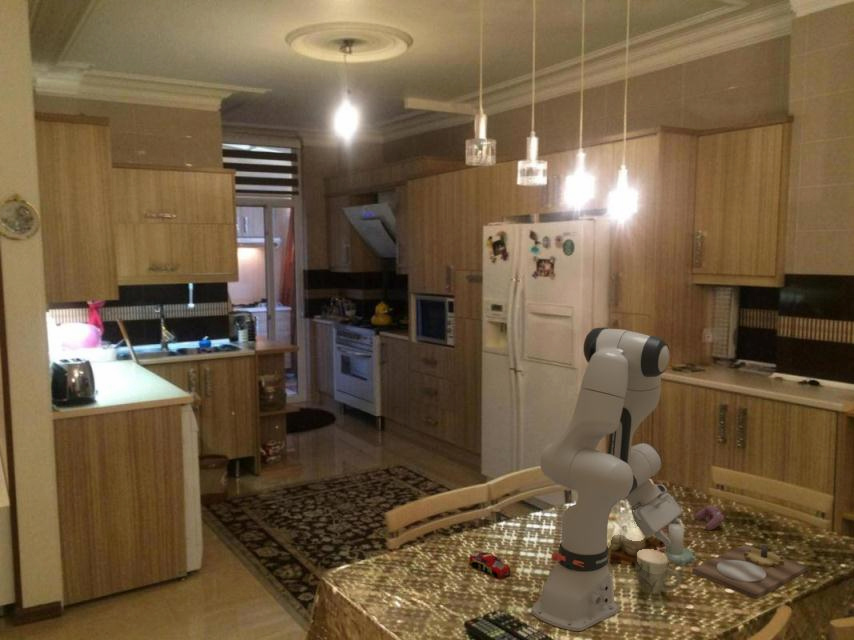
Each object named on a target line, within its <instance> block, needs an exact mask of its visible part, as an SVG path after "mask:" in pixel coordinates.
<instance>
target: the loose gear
mask: <svg viewBox="0 0 854 640" xmlns="http://www.w3.org/2000/svg"><path fill="white" fill-rule="evenodd" d="M684 530H685V529H684V526H683V525H679V524H672V523H669V525H668V537H670V539H671V540H672V541H673V543H672V544H671V545H669V546H668V547H667V546H666V545H665V546H666V549H663V550H662V551H664V552H665V553H666V555H667V557H668V560H669V562H671V563H670V564H674V565H681V566H682V567H683V566H684V567H685V566H686V564H689V563H693V564H695V563H696V551H695V550H690V549H688V548H686V547H685V545H684V536H685V533H684Z"/></svg>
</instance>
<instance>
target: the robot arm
mask: <svg viewBox="0 0 854 640" xmlns="http://www.w3.org/2000/svg"><path fill="white" fill-rule="evenodd" d="M583 355H584V358H585V360H586V362H587V363H588V364H587V367H586V368H585V371H584V374H583V377H582V380H581V384H580V388H579V392H578V397H577V400H576V404H575V408H574V411H573V414H572V418H571V420H570V422H569V423H568V425H567V427H566V428H565V430H564V431H563V432H562V434H561V435H560V436H559V437H558V438H557V439H555V440H554V441H552V442H550V443H548V444H547V445H546V446H545V447H544V449H543V451H542V452H541V456H540V459H539V461H540V462H539V463H540V464H539V465H540V470H541V472H542V474H543V475H544V476H545V477H547V478H548V479H549V480H551V481H552V482H554V483H555V484H557V485H559V486H561V487H564V488H567V489H571V490H573V491H575V492H576V493H577V500H576V504H573V505H570V506H569V507H567V508H566V509H565V510H564V511H563V513H562V515H561V541H560V543H559V547H558V550H557V551H553V553H552V555H551V559H552V561H554V562H555V561H556V563H555V565H554V566H553V568H552V569H551V572H550V573H549V575H548V577H547V579H546V581H545V582H544V585H543V587H542V589H541V595H540V597H539V598H538V600H537V601H536V602H535V603H534V604H533V605H532V607H531V609H530V612H531V614H532V615H533V616H534V617H535V618H537V619H539V620H541V621H542V622H544V623H547V624H549V625H551V626H554V627H556V628H557V627H558V628H561V629H564V630H568V631H574V632H582V631H584V630H587V629H588V628H590V627H592V626H594V625H596V624H598V623H600V622H602V621H604V620H606V619H608V618H610V617H611V616H613V615H615V614H617V613H619V612H620V610H619V606H618V604H617V603H616V602H615V592H614V591H615V590H614V577H613V575H612V572H611V571H610V568H609V566H608V564H609V557H610V552H609V546H608V543H607V542H608V541H607V540H608V526H609V525H608V523H609V519H610V514H611V512H612V509H614V507H615V506H616V505H617V503H619V502H620V501H622V500H624V499H626V501H627V502H628V504H630V510H631V515H632V518H633V522H634V521H635V522H636V524H637V526H638V527H639V530H640V531H641V533H642V535H644V537H646V538H648V539H650V538H651V537H652V536H654V537H655V538H657V539H658V540H659V541H661V542H662V543H663V544H664V546H667V547H668V546H669V545H671V544H672V543H673V541H672V540H671V539H670V537H669V536H667V535H666V534H664V531H663V528H665V527H666V526H667V525H668V524H679V525H682V522H681V519H680V518H679V516H680V515H681V514H683V513H682V508H681V507H680V505H679V504H678V503H677V502H676V500H675V499H674V497H673V496H672V495H671V494H670V493H668V492H667V491H668V489H667V488H666V486H665V485H664V484H656V483H654V484H652V483H651V482H650V480H649V479H652V477H654V476H655V475H656V474H658V473H659V471H661V469H662V466H663V460H662V456H661V455H660V452H659V451H658V450H657V449H656V448H655V447H654V446H653V445H651V444H650V443H646V442H641V443H639V444H638V443H637V444H635V445H632V444H633V438H634V437H633V436H634V434H635V432H636V430H637V428H638V427H639V426H640V424H641V423H642V422H643V421H644V420H645V419H646V418H647V417H648V416H649V415H650V414H651V413H652V412H653V411H654V410H656V408H657V406H658V405H659V402H660V399H661V393H662V379H661V378H662V377H661V375H662V374H664V372H665V371H666V370H667V368H668V364H669V362H670V346H669V345H668V343H667V342H666V341H665V339H663V338H661V337H658V336H655V335H648V334H645V333H640V332H637V331H631V330H630V329H629V330H628V329H621V328H620V329H619V328H608V327H595V328H592V330H591V331H589V332H588V333H587V335H586V337H585V339H584V342H583ZM608 435H609V437H608V447H607V453H606V452H604V451H600V450H597V446H598V445H599V443H600V441H601V440H602V439H603V438H605V437H606V436H608ZM631 506H632V507H631ZM633 510H634V511H633ZM635 522H634V523H635ZM682 526H683V525H682ZM684 534H686V530H685V529H684Z"/></svg>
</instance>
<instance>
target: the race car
mask: <svg viewBox="0 0 854 640" xmlns="http://www.w3.org/2000/svg"><path fill="white" fill-rule="evenodd" d="M468 561H469V563H468V564H469V565H470V566H472V568H473V569H475V570H479V571H481V572H483V573H485V574H488V575H489V576H492V577H493V578H495V579H502V578H503V579H504V578H508V577H509V576H510V575H511V567H510V566H509V565H508V564H506V563H505V562H503V561H502V558H499V557H497V556H496V555H494V554H492V553H490V552H486V551H476V552H474V553H472V554H470V557H469V560H468Z"/></svg>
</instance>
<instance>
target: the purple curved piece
mask: <svg viewBox="0 0 854 640" xmlns="http://www.w3.org/2000/svg"><path fill="white" fill-rule="evenodd" d="M694 516H695V517H694V519H695V520H697V521H701V520H704V519H705V518H706V519H705V522H706V524H705V530H707V531H712V530H715V529H716V528H718V526H719V525H721V524H722V523H723V521H724V514H722V511H721V509H719V508H718V507H717V506H714V505H710V504H708V505H705V506H704V507H703V508H702V509H701V510H699V511H698V512H696V514H695V515H694Z"/></svg>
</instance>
